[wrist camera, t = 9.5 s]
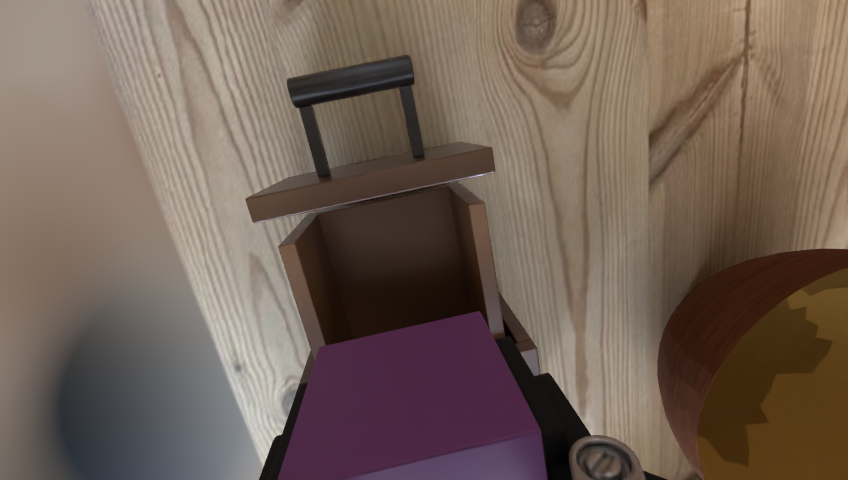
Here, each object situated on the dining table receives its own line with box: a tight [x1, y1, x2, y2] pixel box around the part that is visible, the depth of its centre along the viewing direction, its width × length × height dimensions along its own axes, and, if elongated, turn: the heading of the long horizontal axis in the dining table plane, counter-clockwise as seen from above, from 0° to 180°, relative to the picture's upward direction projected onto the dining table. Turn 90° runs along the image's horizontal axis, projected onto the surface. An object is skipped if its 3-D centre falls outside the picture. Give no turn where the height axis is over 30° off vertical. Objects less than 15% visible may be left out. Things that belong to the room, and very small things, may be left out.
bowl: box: [658, 249, 848, 480], centre depth 27 cm, size 18×18×10 cm
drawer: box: [246, 55, 505, 360], centre depth 23 cm, size 18×11×8 cm, turn 11°
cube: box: [278, 311, 548, 480], centre depth 10 cm, size 5×5×5 cm
